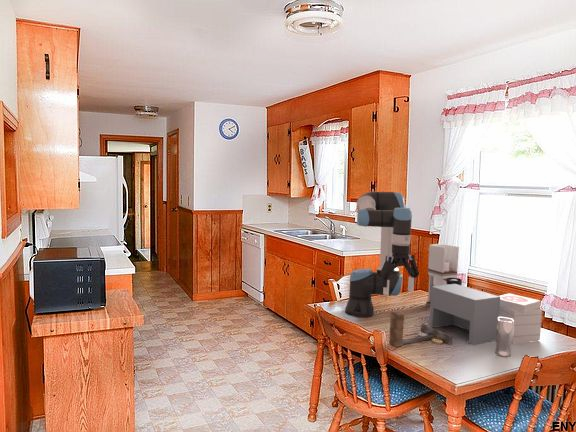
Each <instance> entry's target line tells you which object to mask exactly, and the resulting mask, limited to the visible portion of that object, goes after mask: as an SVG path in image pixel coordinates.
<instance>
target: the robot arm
mask: <svg viewBox="0 0 576 432" xmlns="http://www.w3.org/2000/svg"><path fill="white" fill-rule="evenodd" d="M356 208H357V212H356V214H357V216H356V217H357V218H356V223H357V226H358V227H364V228H366V227H375V228H378V227H379V228H380V253H379V254H380V255H379V266H378V267H377V268H376V272H374V271H373V269H371V268H358V269H355V270H354V269H353V270H352V271H351V272H350V275H349V289H348V290H349V291H348V293H349V295H348V296H349V297H348V299H347V303H346V306H345V309H344V313H345V314H346V315H348V316H351V317H355V318H370V317H373V316H374V315H375V308H374V305H373V301H372V296H373V295H376V296H386V297H387V296H388V297H390V296H392V297H394V296H398V295H399V294H400V292H401V290H402V285H403V274H402V273H400V269H399V268H398V267H403V268H405V270H406V271H407V273H408V275H409V276H408V282H407V283H408V284H407V292H409V293H414V290H415V289H414V287H415V284H416V278H418V277H419V276H420V271H419V269H418V265H417V263H416V260H415V255H414V254H411V246H410V245H411V235H412V222H413V221H412V219H413V210H412V209H411V208H410V207H405V200H404V195H403V194H402V193H401V192H396V191H368V192H366V193H363V194H362V195H360V196H359V197H358V199H357V200H356Z"/></svg>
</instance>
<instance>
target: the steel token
mask: <svg viewBox="0 0 576 432" xmlns="http://www.w3.org/2000/svg"><path fill="white" fill-rule="evenodd" d="M428 335H429V333H428V332H425V331H420V330H419V331H417V337H422V336H428Z"/></svg>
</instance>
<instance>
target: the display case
mask: <svg viewBox="0 0 576 432" xmlns="http://www.w3.org/2000/svg"><path fill="white" fill-rule="evenodd" d="M428 248H429V249H428V268H427V275H429V276H428V294H427V301H426V302H425V305H426V306H427V307H430V303H431V286H440V285H446V283H447V278H458V267H459V265H458V264H459V254H460V253H459V251H460V247H459V246H457V245H452V244H447V243H446V244H445V243H435V244H433V243H432V244H430V243H429V247H428Z"/></svg>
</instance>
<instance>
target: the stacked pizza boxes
mask: <svg viewBox="0 0 576 432" xmlns="http://www.w3.org/2000/svg"><path fill="white" fill-rule="evenodd" d="M498 296H499V297H500V308H499V317H506V318H511V319H513V320H514V335H513V339H512V342H511V345H512V344H513V345H514V344H516V343H517V344H524V343H523V342H529V343H531V342H530V341H538V340H540V338H541V329H542V328H541V327H542V318H543V317H542V315H543V309H541V300H539V299H535V298H531V297H527V296H523V295H522V296H521V295H517V294H514V293H504V294H501V295H498ZM540 341H541V340H540Z"/></svg>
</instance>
